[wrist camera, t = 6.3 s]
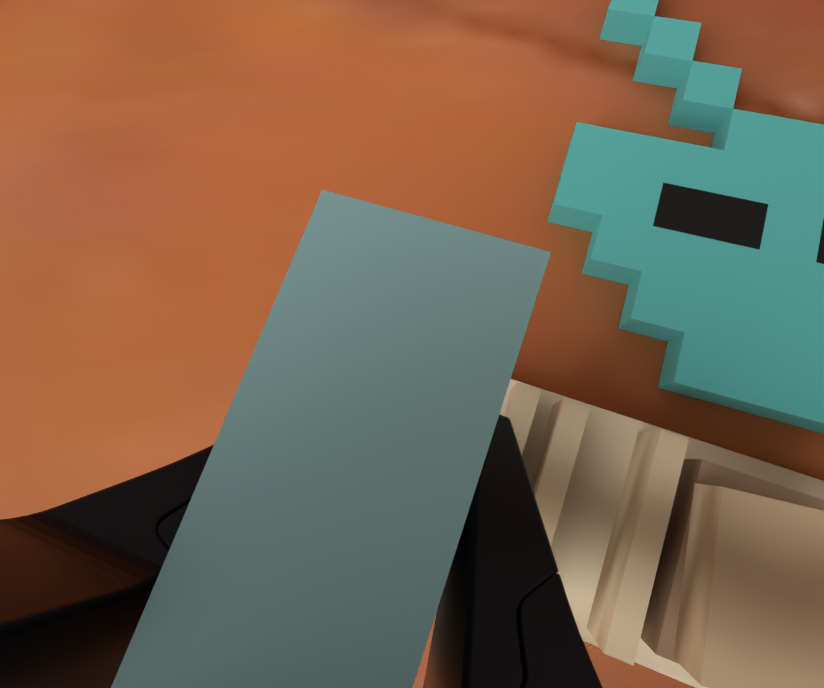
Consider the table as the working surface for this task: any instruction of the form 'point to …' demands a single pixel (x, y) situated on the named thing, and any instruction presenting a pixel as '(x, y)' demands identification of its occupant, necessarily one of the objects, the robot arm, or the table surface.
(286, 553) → the teal panel
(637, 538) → the birch rack
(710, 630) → the upper oak offcut
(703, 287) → the alien figure
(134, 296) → the table surface
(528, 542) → the robot arm
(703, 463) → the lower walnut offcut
